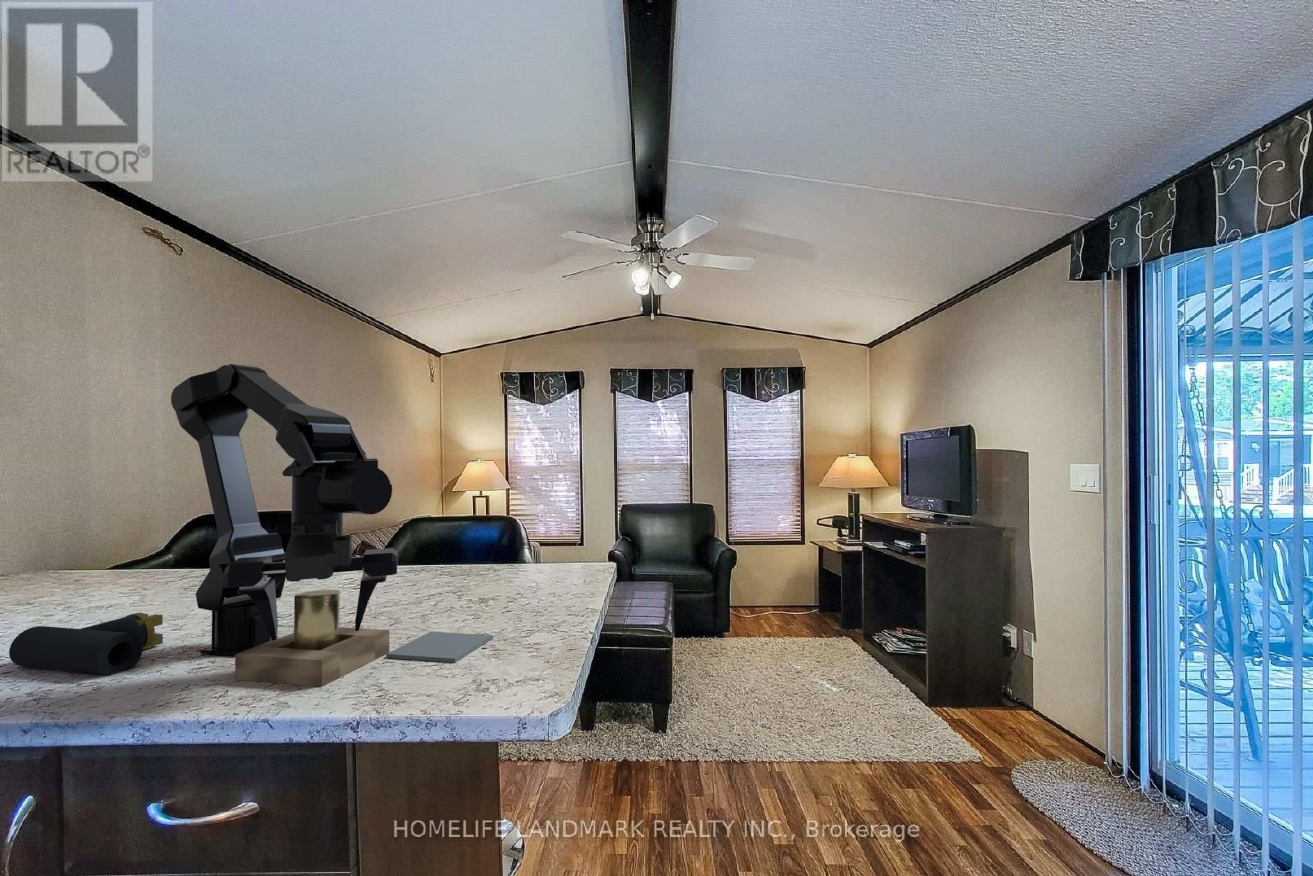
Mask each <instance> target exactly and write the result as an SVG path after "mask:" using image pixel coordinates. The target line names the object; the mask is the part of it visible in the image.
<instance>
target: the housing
mask: <svg viewBox="0 0 1313 876" xmlns="http://www.w3.org/2000/svg"><path fill="white" fill-rule="evenodd" d="M277 638H278V639H276V640H273V641H270V642H267V643H264V644H262V645H259V646H256V647H254V648H251V649H248V650H245V651H243V652H240V653H237V654H235V655H234V656H235V657H234V659H235V660H234V669H235V670H234V680H236V681H249V682H250V681H251V682H262V683H272V684H273V683H274V684H285V685H295V686H296V685H298V686H309V687H310V686H311V687H324V686H325V685H328V684H330V683H331V682H333V681H335V680H338V679H340V678H342V677H343V676H346V675H347V674H350V673H352V672H353V671H355V670H357V669H360V668H362V667H363V666H365V665H367V664H369V663H371V662H373V661H375V660H378V659H380V658H381V657H383V656H386V654H387V653H389V652H390V629H382V628H381V629H380V628H379V629H377V628H362V627H360V628H359V631H355V627H343V626H339V643H336V644H334V645H332V646H329V647H327V648H325V649H322V650H320V651H318V650H303V649H294V632H293V633H289V634H286V635H283V636H281V637H277Z"/></svg>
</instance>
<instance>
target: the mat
mask: <svg viewBox="0 0 1313 876" xmlns="http://www.w3.org/2000/svg"><path fill="white" fill-rule="evenodd" d="M493 637H494V635H493V634H480V633H479V634H478V633H462V632H445V631H443V632H442V631H428V632H427V633H425V634H423V635H421V636H419V637H417V638H415V639H413V640H411V641H409V642H407V643H405V644H402V646H399V647H397V648H396V649H393V650H391V651H389V653H387V654H385V658H387V659H395V660H396V659H399V660H411V661H412V660H414V661H425V662H426V661H429V662H445V663H457V662H459V661H460V660H461V659H463V658H465V657H466V656H468V655H469V654H471V653H473V652H474V651H475V650H478V649H479V648H481V647H482V646H484V645H486V643H488V642H489V641H492V640H493Z"/></svg>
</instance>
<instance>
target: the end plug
mask: <svg viewBox="0 0 1313 876" xmlns="http://www.w3.org/2000/svg"><path fill="white" fill-rule="evenodd" d="M340 594H341V593H340V590H338V589H320V590H319V589H317V590H310V591H309V590H308V591H305V592H300V593H298V594H295V595H294V597H293V598H294V604H293V605H294V608H293V609H294V610H293V611H294V612H293V613H294V614H293V615H294V616H293V619H294V621H293V625H294V626H293V630H294V631H293V633H294V649H303V650H318V651H320V650H322V649H325V648H327V647H329V646H332V645H334V644H336V643H339V627H340V617H341V616H340V613H341V612H340V607H341V606H340V603H341V602H340V599H341V597H340Z"/></svg>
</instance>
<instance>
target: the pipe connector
mask: <svg viewBox="0 0 1313 876" xmlns="http://www.w3.org/2000/svg"><path fill="white" fill-rule="evenodd" d="M163 616H164V615H163V614H157V613H156V614H152V615H149V613H144V612H136V613H131V614H128V615H126V616H124V617H119V618H116V619H112V620H108V621H105V622H101V623H96V624H94V625H90V626H86V627H82V628H74V627H72V628H70V627H59V626H58V627H57V626H45V625H44V626H43V625H38V626H37V625H36V626H33V627H29V628H27V629H26V630H25V629H24V630H23V631H22V632H20V633H19V634H18V635H17V636H16V637H15V638H14V639H13V640H12V642H11V644H10V645H9V650H8V656H9V659H10V660H11V662H12V664H15V665H17V666H20V667H25V668H35V669H36V668H37V669H45V670H55V671H65V672H66V671H67V672H74V673H84V674H94V675H102V676H112V675H115V674H120V673H123V672H126V671H129V670H131V669H133V668H134V666H136V664H137V663H138V662H139V661H140V659H141V657H142V654H143V651H145V650H148V649H150V648H152V647H156V646H158V645H162V644H163V643H164V642H163V641H164V637H163V636H164V635H163V633H157V632H156V631H155V630H156V629H155V627H157V626H161V625H163V624H164V623H163Z"/></svg>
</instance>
